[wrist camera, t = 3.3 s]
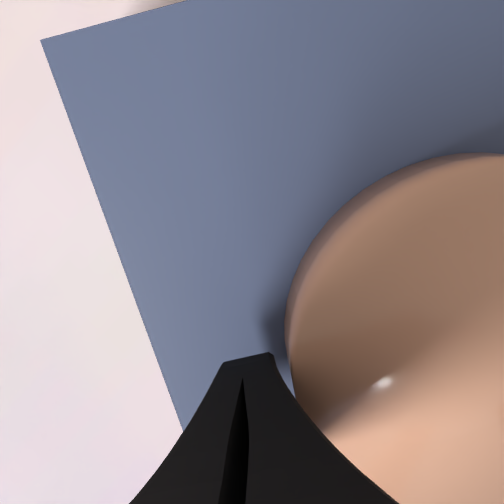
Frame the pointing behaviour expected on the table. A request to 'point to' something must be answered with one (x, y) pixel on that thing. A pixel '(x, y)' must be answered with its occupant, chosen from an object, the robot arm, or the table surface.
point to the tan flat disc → (409, 331)
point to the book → (261, 146)
